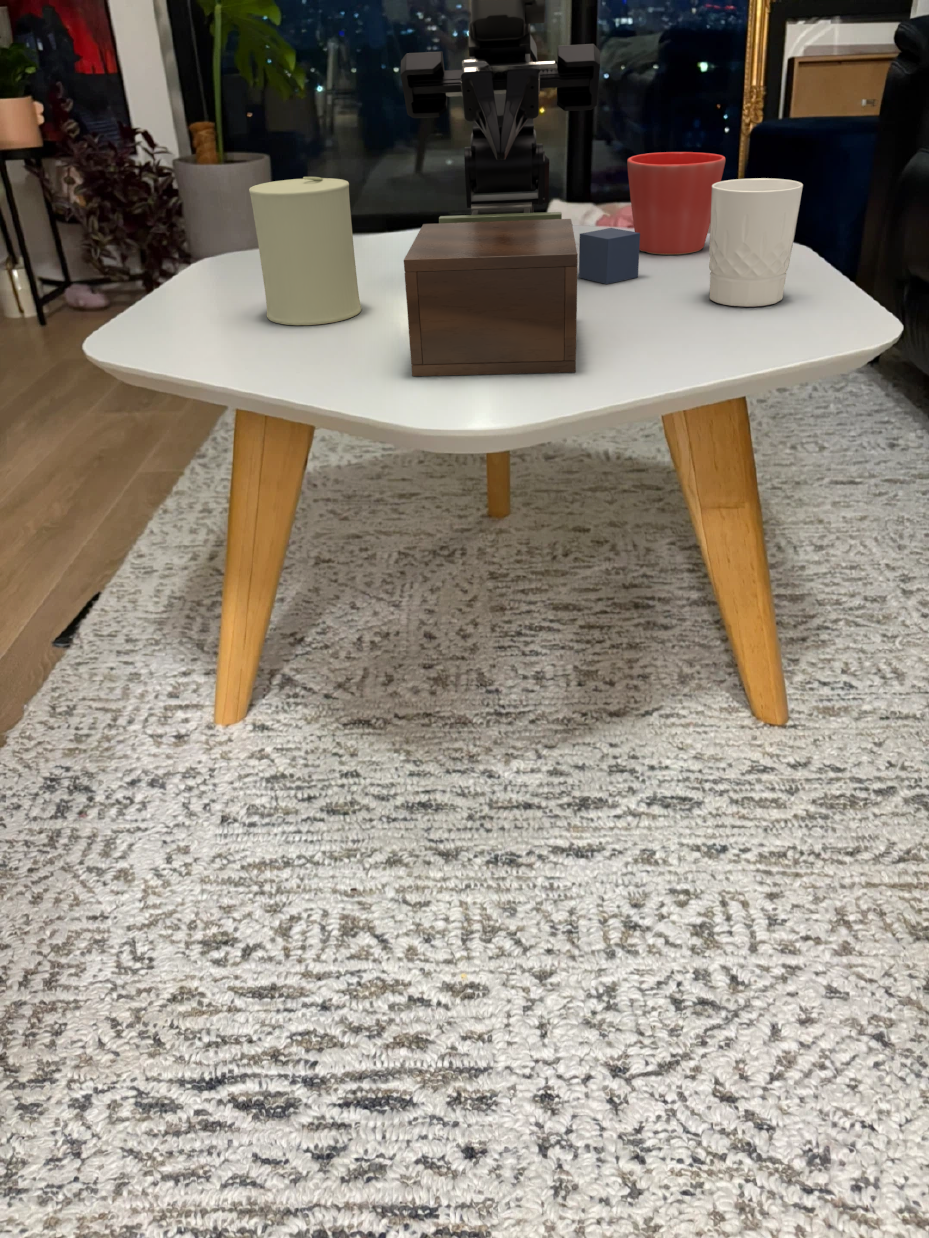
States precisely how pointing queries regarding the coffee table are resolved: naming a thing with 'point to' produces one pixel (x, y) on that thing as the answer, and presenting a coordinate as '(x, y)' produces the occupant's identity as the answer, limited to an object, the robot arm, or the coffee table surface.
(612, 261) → the block
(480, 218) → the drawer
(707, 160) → the flower pot
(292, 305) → the can
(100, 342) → the coffee table surface
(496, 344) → the cabinet
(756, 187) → the white cup
